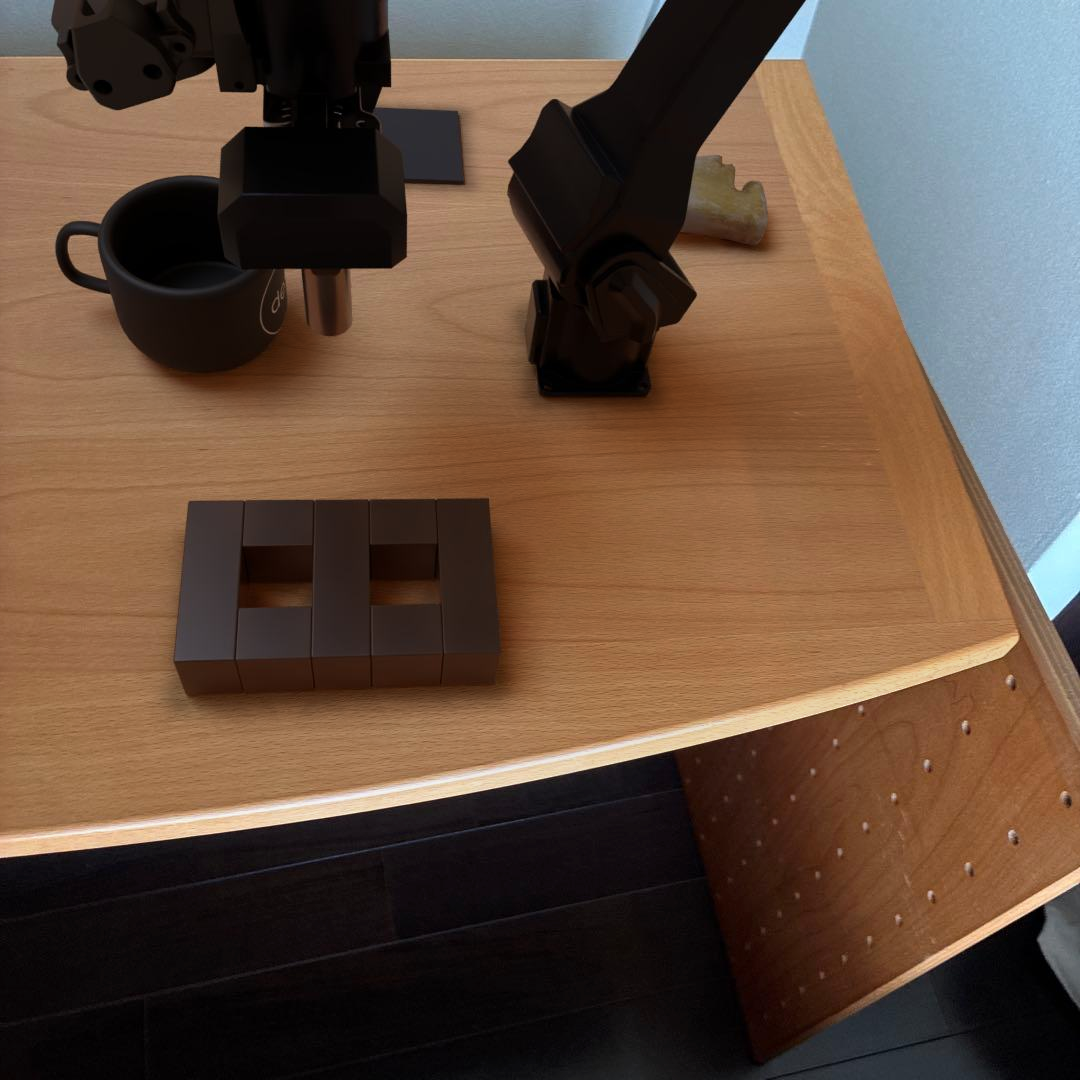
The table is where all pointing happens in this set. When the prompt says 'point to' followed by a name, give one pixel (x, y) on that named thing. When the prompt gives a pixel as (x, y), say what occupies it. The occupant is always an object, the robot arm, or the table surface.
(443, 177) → the pad
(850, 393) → the table surface
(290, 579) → the board
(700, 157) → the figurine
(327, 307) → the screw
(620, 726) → the table surface
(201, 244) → the mug
